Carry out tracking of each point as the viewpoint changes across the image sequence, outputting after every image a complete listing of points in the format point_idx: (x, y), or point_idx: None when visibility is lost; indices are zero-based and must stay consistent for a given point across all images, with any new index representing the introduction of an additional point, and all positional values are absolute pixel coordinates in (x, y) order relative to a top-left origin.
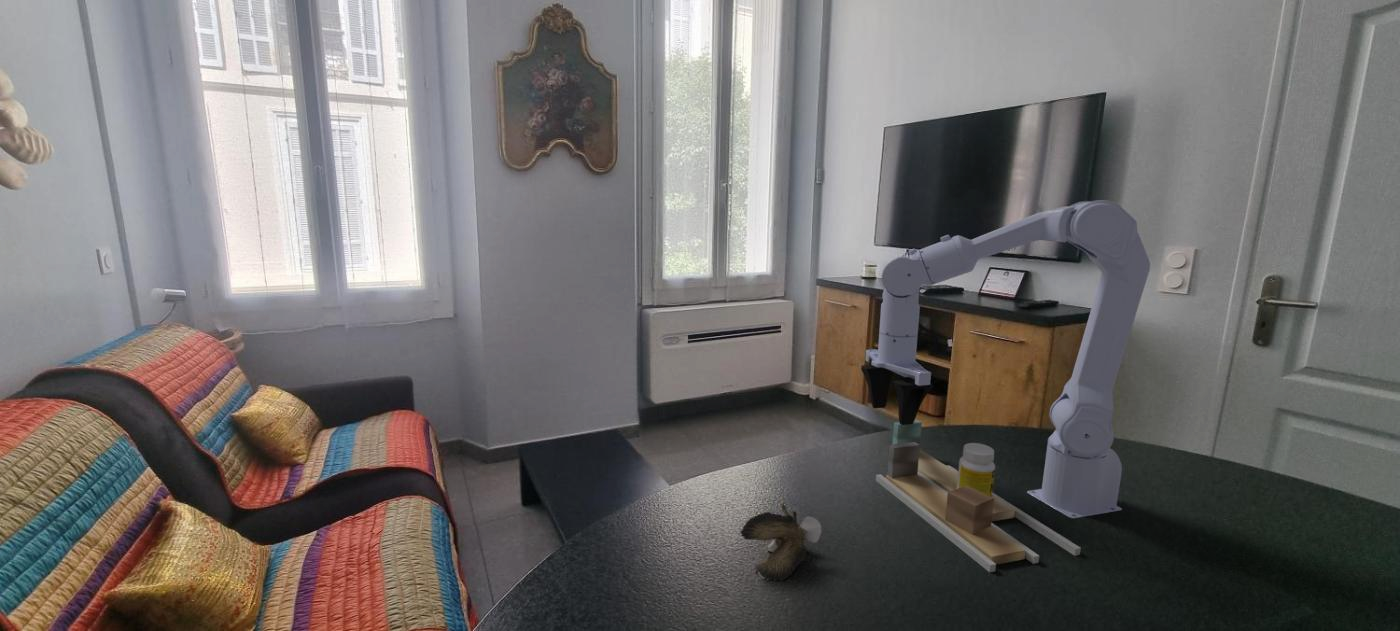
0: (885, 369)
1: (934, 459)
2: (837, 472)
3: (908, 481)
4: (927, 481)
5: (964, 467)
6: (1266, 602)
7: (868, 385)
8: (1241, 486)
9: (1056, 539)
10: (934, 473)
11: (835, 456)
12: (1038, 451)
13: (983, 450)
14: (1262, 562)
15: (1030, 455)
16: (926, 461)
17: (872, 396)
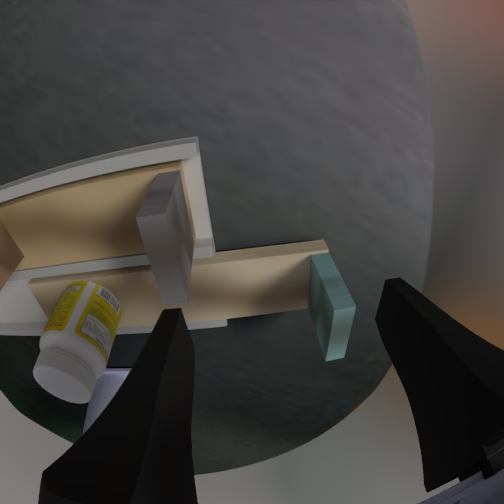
0: (450, 464)
1: (252, 313)
2: (284, 61)
3: (138, 209)
4: (138, 252)
5: (52, 329)
6: (5, 385)
7: (472, 336)
8: None
9: (11, 326)
10: None
11: (377, 108)
12: (275, 418)
13: (54, 387)
14: (57, 417)
15: (266, 411)
16: (245, 295)
17: (419, 311)
